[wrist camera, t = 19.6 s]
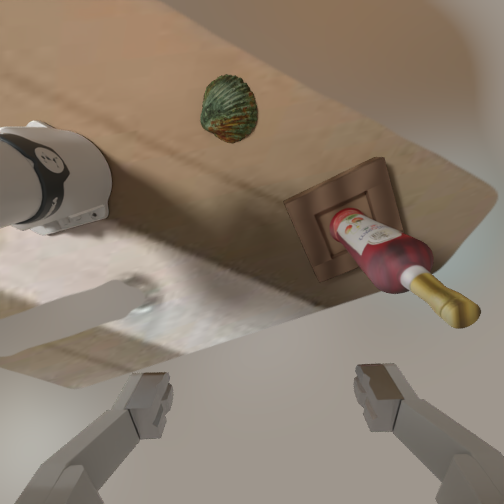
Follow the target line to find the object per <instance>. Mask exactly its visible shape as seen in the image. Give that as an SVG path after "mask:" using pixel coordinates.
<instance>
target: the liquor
mask: <svg viewBox="0 0 504 504" xmlns="http://www.w3.org/2000/svg"><path fill="white" fill-rule="evenodd" d="M329 230H330V234H331V236H332V237H333V239H335V240H336V241H338V242H340V243H341V244H342V245H343V246H344V247H345V248H346V250H347V251H348V252H349V253H350V254H351V256H352V257H353V258H354V260H355V261H356V262H357V264H358V265H359V267H360V268H361V269H362V270H363V271H364V273H365V274H366V275H367V276H368V277H369V279H370V280H371V281H372V282H373V284H374V285H375V286H376V287H377V288H378V289H379V290H381V291H383V292H386V293H391V294H398V293H404V292H407V291H411V292H413V293H414V294H415V295H417V296H418V297H420V298H421V299H423V300H424V301H425V302H427V303H428V304H429V305H430V306H431V308H432V309H433V310H434V312H435V313H436V314H437V315H439V316H440V317H441V318H442V319H443V320H444V321H445V322H447V323H448V324H449V325H450V326H451V327H453V328H465V327H468V326H470V325H472V324H473V323H475V322H476V321H477V319H478V318H479V316H480V314H481V310H480V308H479V306H478V305H477V304H475V303H474V302H472V301H471V300H469V299H468V298H467V297H465V296H463V295H462V294H460V293H459V292H456V291H454V290H452V289H449V288H447V287H446V286H444V285H443V284H442V283H441V282H440V281H439V280H438V279H436V278H435V277H434V276H433V275H432V274H431V273H430V272H431V269H432V267H433V254H432V251H431V249H430V248H429V247H428V246H427V245H426V244H425V243H423V242H422V241H420V240H418V239H415V238H413V237H411V236H409V235H406V234H404V233H402V232H400V231H398V230H396V229H393V228H391V227H388V226H386V225H383V224H381V223H379V222H377V221H374V220H372V219H370V218H368V217H366V216H365V215H364V214H363V213H362V212H361V211H360V210H358V209H355V208H346V209H343V210H341V211H339V212H338V213H336V215H335V216H334V217H333V218H332V220H331V222H330V228H329Z"/></svg>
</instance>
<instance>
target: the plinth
mask: <svg viewBox="0 0 504 504" xmlns="http://www.w3.org/2000/svg"><path fill="white" fill-rule="evenodd" d="M283 202H284V205H285V207H286V209H287V211H288V214H289V216H290V218H291V220H292V223H293V225H294V227H295V230H296V232H297V234H298V236H299V239H300V241H301V243H302V245H303V248H304V250H305V252H306V255H307V257H308V259H309V261H310V264H311V266H312V268H313V270H314V273H315V275H316V277H317V279H318V281H319V283H321V282H323V281H326V280H328V279H331V278H333V277H336V276H338V275H341V274H343V273H346V272H348V271H351V270H353V269H356V268H358V267H359V265H358V264H357V262H356V261H355V260H354V258H353V257H352V256H351V254H350V253H349V252H348V251H347V250H346V248H345V247H344V246H343V245H342V244H341V243H340V242H338V241H336V240H335V239H333V237H332V236H331V234H330V230H329V228H330V222H331V220H332V218H333V217H334V216H335V215H336V213H338V212H339V211H341V210H343V209H346V208H355V209H358V210H360V211H361V212H362V213H363V214H364V215H365V216H366V217H368V218H370V219H372V220H374V221H377V222H379V223H381V224H383V225H386V226H388V227H391V228H393V229H396V230H398V231H400V232H402V233H404V231H403V227H402V223H401V220H400V216H399V212H398V208H397V204H396V200H395V197H394V193H393V189H392V185H391V181H390V178H389V174H388V170H387V166H386V162H385V158H384V157H374V158H372V159H369V160H367V161H365V162H363V163H361V164H359V165H357V166H355V167H353V168H351V169H349V170H347V171H345V172H343V173H340V174H338V175H336V176H334V177H332V178H330V179H328V180H326V181H324V182H322V183H320V184H318V185H316V186H313V187H311V188H309V189H307V190H305V191H303V192H301V193H299V194H297V195H295V196H293V197H291V198H289V199H287V200H284V201H283Z"/></svg>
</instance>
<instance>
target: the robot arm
mask: <svg viewBox="0 0 504 504" xmlns="http://www.w3.org/2000/svg"><path fill="white" fill-rule="evenodd" d="M111 188H112V177H111V172H110V169H109V166H108V163H107V161H106V160H105V158H104V156H103V155H102V153H101V152H100V151H99V149H98V148H97V147H96V146H95V145H94V144H93V143H91V142H90V141H89V140H88V139H86V138H85V137H83V136H81V135H79V134H77V133H74V132H71V131H66V130H59V129H55V128H53V127H51V126H49V125H47V124H46V123H44V122H41V121H31V122H29V124H28V125H27V126H26V127H1V128H0V228H3V227H6V226H9V225H11V226H12V227H14V228H16V229H19V230H22V231H25V230H28V229H30V230H32V231H34V232H35V233H37V234H40V235H48V234H52V233H55V232H59V231H62V230H66V229H69V228H73V227H77V226H80V225H84V224H87V223H91V222H94V221H98V220H101V219H105V218H107V217H108V214H109V210H108V198H109V196H110V193H111ZM94 213H96V214H97V216H96V215H95V214H94ZM355 371H356V374H357V377H356V378H354V392H355V395H356V398H357V401H358V403H359V404H360V405H361V406H362V407H363V408H364V413H363V415H364V417H365V420H366V422H367V424H368V427H369V429H370V431H371V432H393V434H394V435H395V436H396V437H397V438H398V439H399V440H400V441H401V442H402V443H403V444H404V445H405V446H406V447H407V448H408V449H409V450H410V451H411V452H412V453H413V454H414V455H415V456H416V457H417V458H418V459H419V460H420V461H421V462H422V463H423V464H424V465H425V466H426V467H427V468H428V469H429V470H430V471H431V472H432V473H433V474H434V475H435V476H436V477H437V478H438V479H439V480H440V481H441V482H442V484H441V486H440V488H439V491H438V493H437V496H436V501H437V503H438V504H504V456H503V455H502V454H501V452H499V451H498V450H496V449H495V448H493V447H492V446H491V445H489V444H488V443H486V442H485V441H483V440H482V439H480V438H479V437H478V436H476V435H475V434H473V433H472V432H470V431H469V430H467V429H466V428H464V427H463V426H462V425H460V424H459V423H457V422H456V421H454V420H453V419H451V418H450V417H449V416H447V415H446V414H444V413H443V412H441V411H440V410H439V409H437V408H436V407H434V406H432V405H431V404H430V403H428V402H427V401H425V400H424V399H419V397H418V396H417V394H416V393H415V392H414V390H413V389H412V387H411V386H410V384H409V383H408V382H407V380H406V378H405V377H404V375H403V374H402V373H401V371H400V370H399V368H398V367H397V365H396V364H394V363H385V364H362V365H357V366H356V370H355ZM169 380H170V376H169V373H167V372H164V373H163V372H159V373H158V372H157V373H133V374H132V375H130V377H129V378H128V380H127V382H126V384H125V385H124V387H123V389H122V391H121V393H120V394H119V396H118V398H117V400H116V402H115V404H114V405H113V407H112V409H111V410H107V411H106V412H104V413H103V414H102V415H101V416H100V417H98V418H97V419H96V420H95V421H94V422H92V423H91V424H90V425H89V426H87V427H86V428H85V429H84V430H83V431H81V432H80V433H79V434H78V435H77V436H75V437H74V438H73V439H72V440H70V441H69V442H68V443H67V444H66V445H64V446H63V447H62V448H61V449H60V450H58V451H57V452H56V453H55V454H53V455H52V456H51V457H50V458H49V459H47V460H46V461H45V462H44V463H43V464H41V466H40V467H39V469H38V470H37V472H36V473H35V474H34V476H33V477H32V479H31V480H30V482H29V483H28V485H27V486H26V488H25V489H24V491H23V492H22V493H21V495H20V497H19V498H18V500H17V501H16V503H15V504H104V502H103V500H102V498H101V497H100V495H99V493H98V490H99V489H100V488H101V487H102V486H103V484H104V483H105V482H106V481H107V480H108V478H109V477H110V476H111V475H112V474H113V472H114V471H115V470H116V469H117V468H118V466H119V465H120V464H121V463H122V462H123V461H124V459H125V458H126V457H127V456H128V455H129V453H130V452H131V451H132V450H133V449H134V447H135V446H136V445H137V444H138V443H139V441H140V439H156V438H161V436H162V433H163V430H164V427H165V424H166V417H165V414H166V413H167V412H168V411H169V410H170V408H171V405H172V400H173V388H172V385H171V384H170V383H169Z"/></svg>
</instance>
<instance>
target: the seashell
mask: <svg viewBox="0 0 504 504" xmlns="http://www.w3.org/2000/svg"><path fill="white" fill-rule="evenodd" d="M253 95H254V94H253V92H252V91H250V88H249V87H248V85H247V83H243V80H242V79H241V78H238V77H236V75H235V76H232V75H227V74H226V75H224V76H220V77H218V78H217V79H216V80H214V81H212V82H211V83H210V84H209V85H208V87H207V88H206V91H205V94H204V101H203V109H202V113H201V119H200V120H201V125H202V127H203V128H204V129H205V130H207V131H209V132H213V133H215V136H216V137H218V138H219V139H221V140H223V141H225V142H228V143H235V142H236V141H241V139H242V138H245V135H246V134H250V133H251V129H252V128H254V127H255V125H256V124H255V121H257V117H256V115H257V113H258V112H257V110H256V108H257V105H256V104H255V98H254V97H253Z"/></svg>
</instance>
